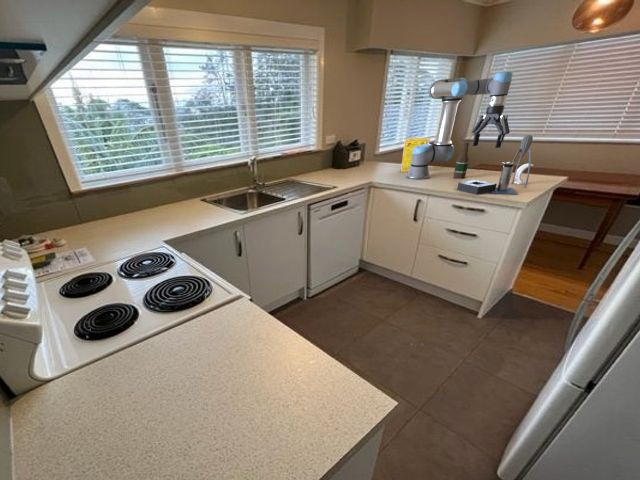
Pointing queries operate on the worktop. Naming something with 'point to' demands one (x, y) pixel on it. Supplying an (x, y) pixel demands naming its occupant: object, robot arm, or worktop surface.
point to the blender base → (476, 186)
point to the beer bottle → (462, 163)
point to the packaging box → (411, 151)
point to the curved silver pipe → (518, 174)
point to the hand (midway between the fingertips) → (485, 146)
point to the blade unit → (505, 176)
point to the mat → (509, 191)
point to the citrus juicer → (524, 149)
